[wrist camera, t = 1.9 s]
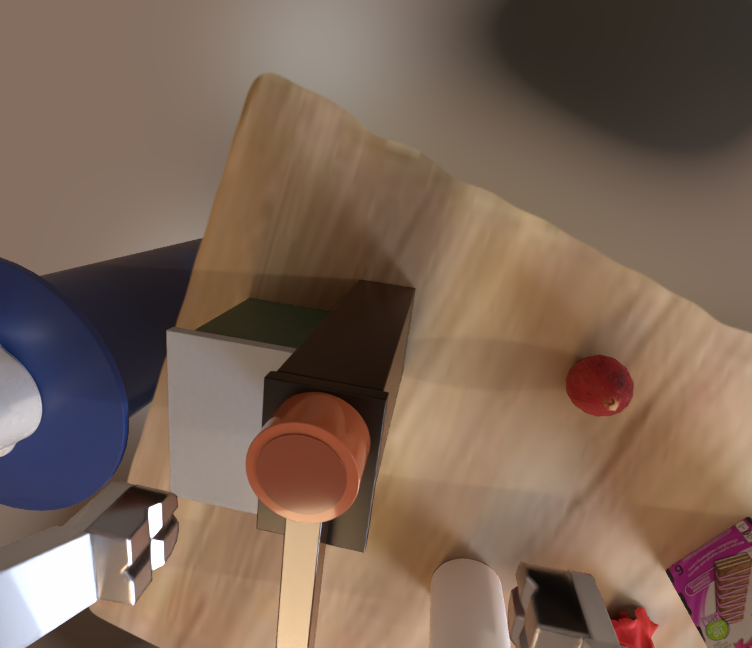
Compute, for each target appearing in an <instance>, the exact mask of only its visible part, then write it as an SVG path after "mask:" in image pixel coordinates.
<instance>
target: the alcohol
mask: <svg viewBox="0 0 752 648" xmlns="http://www.w3.org/2000/svg"><path fill="white" fill-rule="evenodd" d="M429 648H511V646H510V639H509V633H508V626H507V619H506V613H505V606H504V599H503V593H502V586H501V582H500V579H499V578H498V576H497V574H496V573H495V572H494V571H493V570H492V569H491V568H490V567H488V566H487V565H485V564H483V563H481V562H479V561H476V560H472V559H454V560H450V561H448V562H446V563H444V564H442V565H441V566H440V567H439V568H438V569H437V570H436V571H435V572H434V574H433V576H432V579H431V590H430V632H429Z"/></svg>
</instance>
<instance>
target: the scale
mask: <svg viewBox="0 0 752 648" xmlns="http://www.w3.org/2000/svg"><path fill="white" fill-rule="evenodd" d="M330 312H331V311H325V310H319V309H313V308H307V307H301V306H295V305H289V304H283V303H277V302H271V301H265V300H259V299H253V298H249V299H247V300H245V301H243V302H242V303H240V304H238V305H237V306H235V307H233V308H232V309H230V310H228V311H227V312H225V313H223V314H221V315H220V316H218V317H216V318H215V319H213V320H211V321H210V322H208V323H206V324H204V325H203V326H201V327H199V328H198V329H196V330H189V329H183V328H177V327H172V328H170V329H168V330H167V331H166V334H167V374H168V414H169V454H170V492H172V493H174V494H176V495H177V497H180V498H184V499H189V500H193V501H198V502H203V503H207V504H212V505H216V506H221V507H225V508H230V509H234V510H239V511H244V512H248V513H253V514H257V509H258V497H257V496H256V494H255V493H254V491H253V490H252V488H251V486H250V484H249V481H248V478H247V474H246V464H245V462H246V455H247V451H248V448H249V446H250V444H251V443H252V441H253V440H254V438H255V437H256V435H257V434H258V433H259V431H260V430H261V429H262V409H263V389H264V377H265V376H266V375H267V374H268V373H269V372H270V371H277V370H278V369H279V368H280V367H281V366H282V365H283V363H284V362H285V361H286V360H287V359H288V358H289V357H290V356H291V355H292V353H293V352H294V351H295V350H296V349H297V348H298V347H299V346H300V345H301V344H302V342H303V341H304V340H305V339H306V338H307V337H308V336H309V335H310V334H311V333H312V331H313V330H314V329H315V328H316V327H317V326H318V325H319V324H320V323H321V321H322V320H323V319H324V318H325V317H326V316H327V315H328V314H329V313H330Z"/></svg>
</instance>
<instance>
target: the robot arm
mask: <svg viewBox="0 0 752 648" xmlns="http://www.w3.org/2000/svg"><path fill="white" fill-rule="evenodd" d="M41 416H42V402H41V397H40V393H39V390H38V388H37V386H36V383H35V381H34V380H33V378H32V376H31V375H30V373H29V372H28V371H27V369H26V368H25V367H24V366H23V365H22V364H21V363H20V362H19V361H18V360H17V359H16V358H15V357H14V356H13V355H11V354H10V353H9V352H8V351H6V350H5V349H4V348H3V347H2V346H1V344H0V457H1V456H4V455H6V454H8V453H9V452H11V450H12V449H13V447H14V446H15V444H16V443H17V442H18V441H20V440H22V439H24V438H27V437H28V436H30V435H31V434H32V433H33V432H34V431H35V430H36V429H37V427H38V425H39V423H40V420H41ZM177 508H178V500H177V495H176V494H174V493H172V492H167V491H163V490H158V489H154V488H149V487H145V486H141V485H134V484H129V483H125V482H121V481H115V482H112V483H110V484H109V485H108V486H106V487H105V488H104V489H103V490H102V491H101V492H100V493H99V494H98V495H96V496H95V497H94V498H93V499H92V500H91V501H90V502H89V503H88V504H86V505H85V506H84V507H83V508H82V509H81V510H80V511H79V512H78V513H76V514H75V515H74V516H73V517H72V518H71V519H70V520H69V521H68V522H66V523H65V524H64V525H63V526H62V527H59V526H54V527H51V528H49V529H46V530H44V531H41V532H39V533H36V534H34V535H31V536H29V537H26V538H24V539H21V540H19V541H16V542H14V543H11V544H9V545H6V546H4V547H1V548H0V648H25V647H27V646H28V645H30V644H31V643H33V642H35V641H36V640H37V639H39V638H41V637H42V636H44V635H45V634H47V633H48V632H50V631H51V630H53V629H55V628H56V627H57V626H59V625H60V624H62V623H64V622H65V621H67V620H68V619H70V618H71V617H73V616H74V615H76V614H77V613H79V612H81V611H82V610H84V609H85V608H87V607H88V606H90V605H91V604H93V603H94V602H96V601H97V599H102V600H107V601H112V602H118V603H123V604H128V605H133V606H134V604H135V603H136V602H137V600H138V599H139V598H140V596H141V595H142V594H143V592H144V591H145V589H146V588H147V587H148V585H149V584H150V583H151V581H152V570H154V569H156V568H158V567H160V566H161V565H163V564H164V563H165V562H166V561H167V559H168V558H169V556H170V555H171V553H172V551H173V549H174V546H175V544H176V542H177V537H178V532H179V522H178V521H177V519H176V518H175V516H174V515H173V513H174V511H175V510H176V509H177ZM516 580H517V587H515V588H514V589H512V590H511V594H510V599H509V604H508V630H509V638H510V640H511V641H512V642H513V644H514V645H515V646H516V648H628V647H626V646H622V645H620V643H619V640H618V638H617V635H616V633H615V630H614V628H613V625H612V622H611V620H610V617H609V615H608V612H607V609H606V607H605V604H604V602H603V599H602V597H601V594H600V591H599V589H598V586H597V584H596V581H595V578H594V577H593V576H592V575H591V574H587V573H581V572H576V571H570V570H567V571H566V570H563V569H558V568H553V567H548V566H542V565H537V564H532V563H526V562H520V564H519V565H518V568H517V572H516Z"/></svg>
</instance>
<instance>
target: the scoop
mask: <svg viewBox="0 0 752 648" xmlns="http://www.w3.org/2000/svg"><path fill="white" fill-rule="evenodd" d="M370 445H371V442H370V435H369V431H368V428H367V425H366V423H365V422H364V420H363V418H362V417H361V415H360V414H359V413H358V412H357V411H356V410H355V408H353V407H352V406H351V405H350V404H349V403H347V402H346V401H344V400H342V399H340V398H339V397H336V396H334V395H331V394H327V393H323V392H305V393H300V394H297V395H294V396H292V397H290V398H288V399H287V400H285V401H284V402H283V403H281V404H280V406H279V407H278V408H277V409H276V410H275V412H274V413H273V414H272V416H271V417H270V418H269V420H268V421H267V422H266V424H265V425H264V426H263V428H262V429H261V430H260V431H259V433H258V434H257V435H256V437H255V438H254V440H253V441H252V443H251V444H250V446H249V448H248V451H247V455H246V462H245V464H246V474H247V478H248V481H249V484H250V486H251V488H252V490H253V491H254V493H255V494H256V496H257V497H258V498H259V500H260V501H261V502H262V503H263V504H264V505H265V506H267V507H268V508H269V509H270V510H272V511H273V512H275V513H276V514H278V515H280V516H282V517H284V518H285V529H284V542H283V556H282V569H281V583H280V596H279V610H278V623H277V637H276V648H314V645H315V636H316V627H317V618H318V610H319V601H320V592H321V583H322V574H323V565H324V556H325V547H326V538H327V529H328V521H329V520H332V519H334V518H336V517H338V516H340V515H341V514H343V513H344V512H345V511H346V510H347V509H349V507H350V506H351V505H352V504H353V502H354V500H355V499H356V496H357V494H358V491H359V488H360V484H361V481H362V477H363V474H364V470H365V467H366V464H367V460H368V457H369V453H370Z"/></svg>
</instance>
